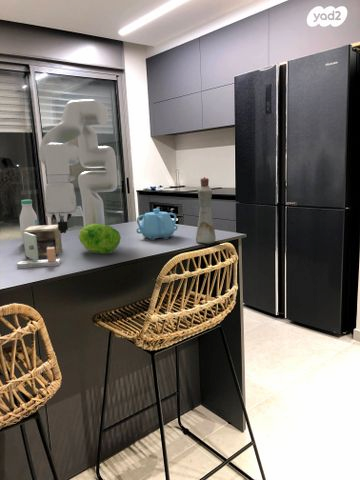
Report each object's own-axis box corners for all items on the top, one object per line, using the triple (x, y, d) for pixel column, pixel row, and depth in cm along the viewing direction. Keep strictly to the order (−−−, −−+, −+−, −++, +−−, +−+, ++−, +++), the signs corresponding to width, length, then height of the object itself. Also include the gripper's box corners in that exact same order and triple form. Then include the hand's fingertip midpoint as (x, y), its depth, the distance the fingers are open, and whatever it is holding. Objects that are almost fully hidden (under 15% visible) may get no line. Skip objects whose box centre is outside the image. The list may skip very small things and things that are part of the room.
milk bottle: (34, 245, 174) (29, 200, 170) (18, 245, 176) (13, 200, 172) (43, 241, 182) (38, 198, 178) (28, 241, 183) (23, 199, 179)
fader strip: (60, 262, 142) (60, 258, 142) (58, 265, 138) (58, 261, 138) (20, 265, 140) (19, 261, 139) (17, 268, 136) (16, 264, 136)
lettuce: (97, 246, 168) (95, 219, 166) (129, 254, 152) (127, 224, 149) (70, 251, 159) (68, 223, 157) (101, 260, 143) (98, 229, 141)
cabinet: (62, 249, 165) (59, 224, 163) (58, 254, 155) (56, 228, 153) (32, 250, 163) (29, 226, 161) (27, 256, 153) (24, 230, 151)
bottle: (191, 243, 167) (190, 177, 162) (200, 239, 175) (199, 176, 169) (210, 245, 163) (209, 177, 158) (218, 241, 171) (218, 176, 165)
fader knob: (56, 258, 141) (55, 246, 140) (55, 260, 138) (53, 248, 137) (49, 259, 140) (47, 246, 140) (47, 261, 138) (46, 248, 137)
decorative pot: (154, 233, 195) (153, 206, 192) (181, 235, 186) (180, 207, 183) (133, 239, 182) (131, 210, 179) (161, 242, 173) (159, 211, 170)
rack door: (38, 261, 144) (35, 234, 142) (32, 262, 142) (29, 235, 140) (27, 255, 153) (24, 230, 151) (21, 256, 152) (19, 231, 150)
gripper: (82, 179, 139) (85, 230, 142) (38, 180, 137) (43, 232, 140) (80, 179, 132) (84, 233, 135) (34, 181, 129) (39, 235, 133)
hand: (63, 232), depth 137 cm, fingers closed
